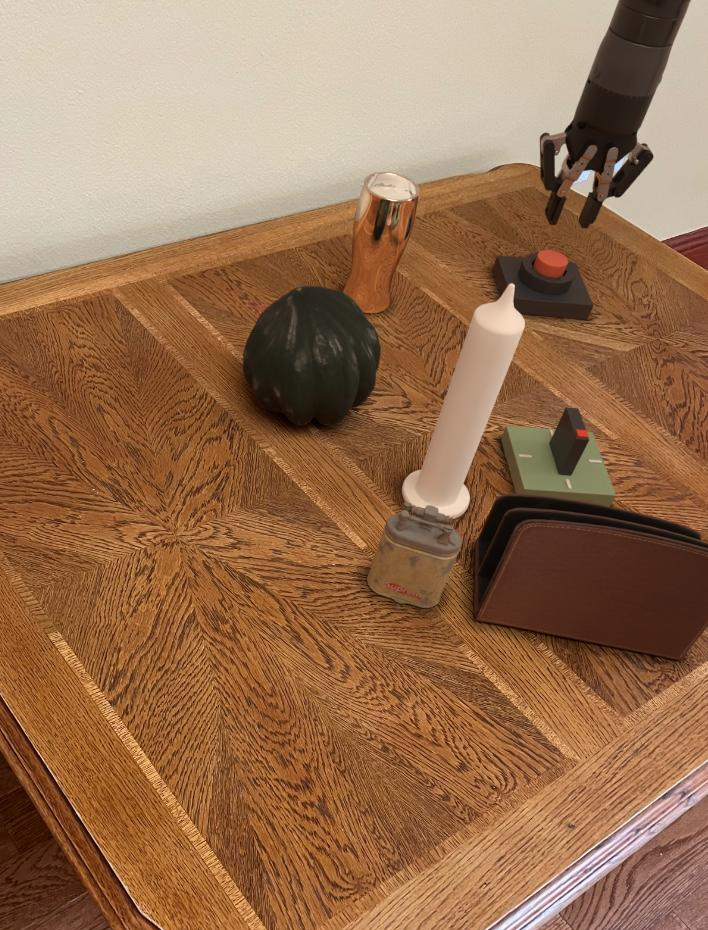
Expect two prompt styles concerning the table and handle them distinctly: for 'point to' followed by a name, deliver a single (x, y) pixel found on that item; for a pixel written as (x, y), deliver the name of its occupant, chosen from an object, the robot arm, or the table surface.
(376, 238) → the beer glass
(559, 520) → the letter holder
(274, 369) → the squash
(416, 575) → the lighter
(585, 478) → the dial panel
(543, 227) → the table surface
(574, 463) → the dial
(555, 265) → the red button
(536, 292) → the button housing
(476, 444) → the candle
